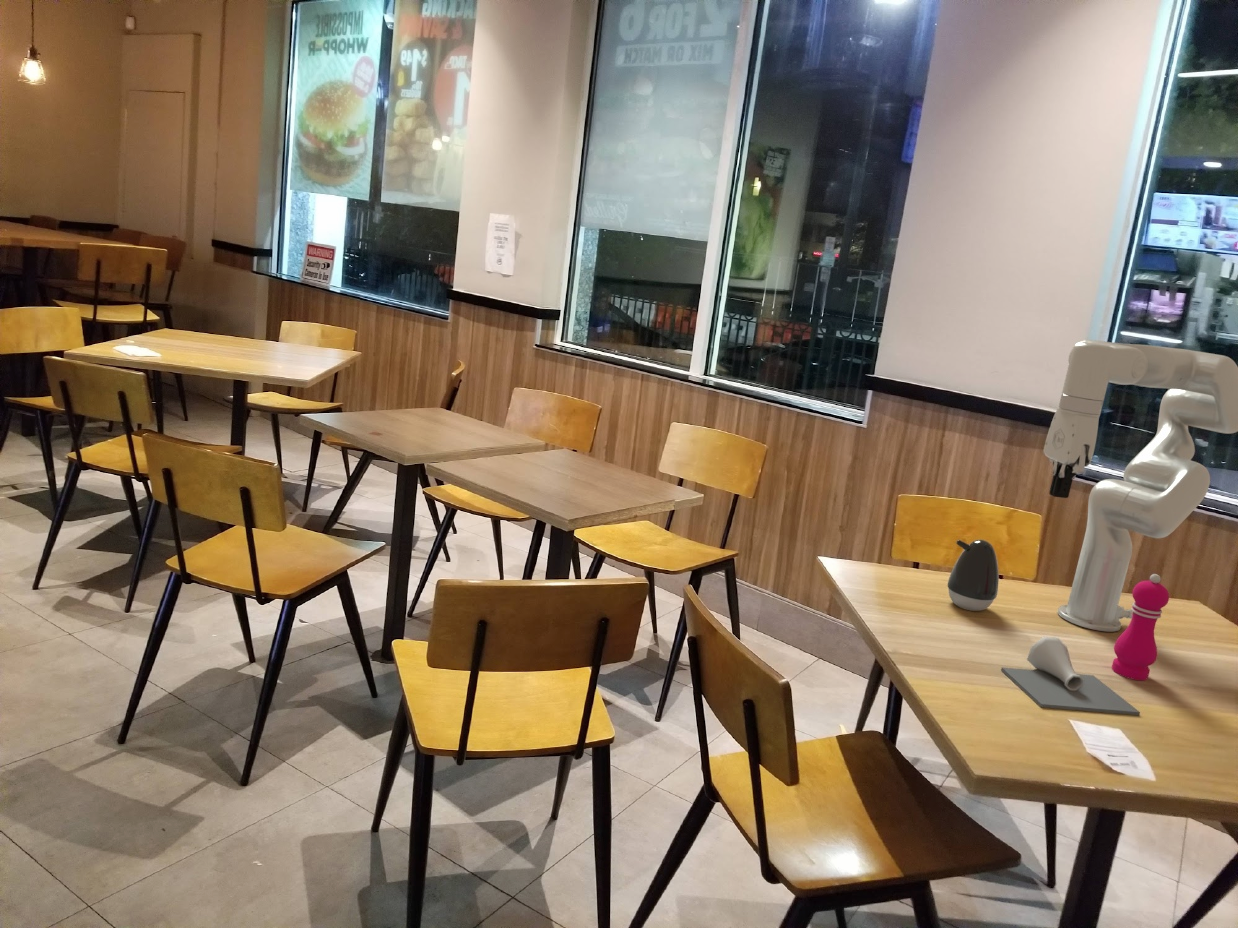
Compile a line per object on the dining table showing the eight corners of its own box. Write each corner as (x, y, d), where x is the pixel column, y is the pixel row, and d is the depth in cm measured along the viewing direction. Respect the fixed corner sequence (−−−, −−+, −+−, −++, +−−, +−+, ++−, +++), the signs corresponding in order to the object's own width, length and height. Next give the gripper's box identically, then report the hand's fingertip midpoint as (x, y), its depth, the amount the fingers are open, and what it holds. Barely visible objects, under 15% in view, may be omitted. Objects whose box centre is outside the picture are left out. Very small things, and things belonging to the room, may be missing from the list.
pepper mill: (1146, 670, 184) (1173, 573, 179) (1153, 685, 177) (1182, 584, 173) (1106, 661, 186) (1131, 564, 181) (1111, 675, 179) (1138, 575, 175)
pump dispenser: (938, 594, 213) (953, 529, 209) (986, 602, 212) (1001, 537, 208) (947, 610, 203) (962, 542, 200) (997, 619, 202) (1013, 551, 198)
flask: (1049, 674, 179) (1078, 706, 169) (1019, 660, 177) (1047, 692, 168) (1072, 643, 176) (1103, 674, 167) (1042, 629, 175) (1071, 660, 165)
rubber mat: (1092, 678, 176) (1093, 675, 176) (1139, 715, 163) (1140, 712, 163) (1001, 670, 174) (1001, 667, 174) (1040, 707, 161) (1041, 703, 161)
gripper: (1042, 397, 193) (1022, 484, 197) (1083, 410, 178) (1060, 504, 182) (1077, 401, 194) (1056, 488, 198) (1121, 415, 179) (1097, 508, 183)
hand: (1058, 496), depth 190 cm, fingers closed
